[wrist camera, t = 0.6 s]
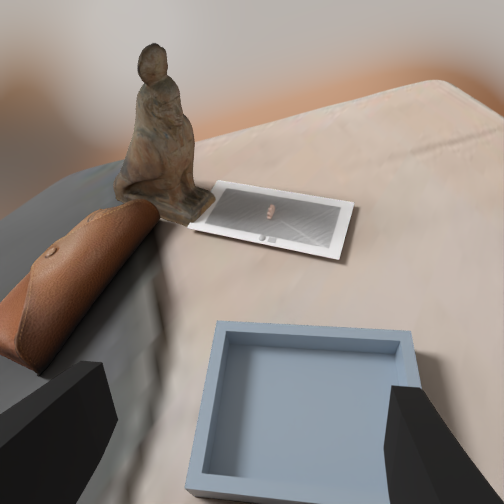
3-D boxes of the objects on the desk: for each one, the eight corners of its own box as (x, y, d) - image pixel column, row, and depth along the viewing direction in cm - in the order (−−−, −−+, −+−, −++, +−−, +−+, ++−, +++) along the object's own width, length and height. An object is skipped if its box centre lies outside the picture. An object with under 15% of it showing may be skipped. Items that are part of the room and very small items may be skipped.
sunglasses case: (97, 204, 41) (102, 166, 36) (153, 238, 42) (166, 206, 37) (-36, 346, 31) (-56, 321, 25) (42, 387, 32) (39, 372, 26)
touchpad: (219, 187, 43) (216, 172, 41) (353, 210, 38) (355, 194, 37) (188, 235, 38) (184, 220, 36) (337, 267, 34) (340, 251, 32)
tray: (432, 524, 21) (446, 518, 19) (193, 496, 23) (184, 488, 21) (402, 347, 28) (410, 330, 26) (221, 337, 29) (216, 320, 28)
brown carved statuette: (220, 219, 42) (229, 60, 27) (188, 249, 39) (178, 91, 25) (143, 170, 45) (114, 4, 31) (108, 195, 42) (57, 25, 28)
